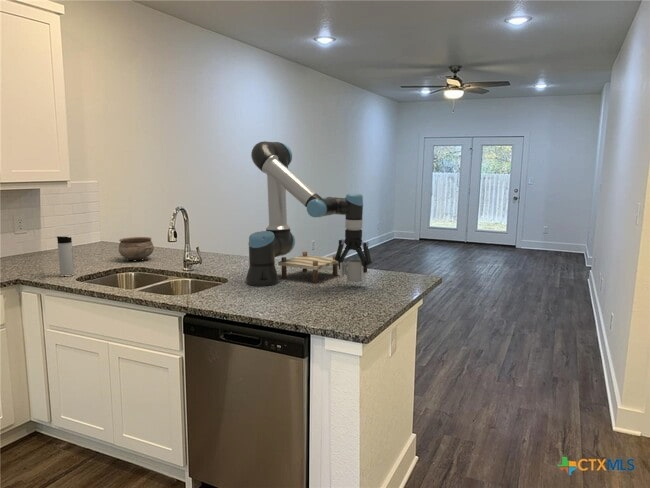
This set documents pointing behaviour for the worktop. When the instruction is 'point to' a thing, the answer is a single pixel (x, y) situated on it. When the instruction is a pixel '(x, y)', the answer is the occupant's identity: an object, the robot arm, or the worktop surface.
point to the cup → (353, 270)
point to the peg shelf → (309, 264)
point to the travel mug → (65, 255)
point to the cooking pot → (136, 247)
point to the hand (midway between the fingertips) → (352, 278)
